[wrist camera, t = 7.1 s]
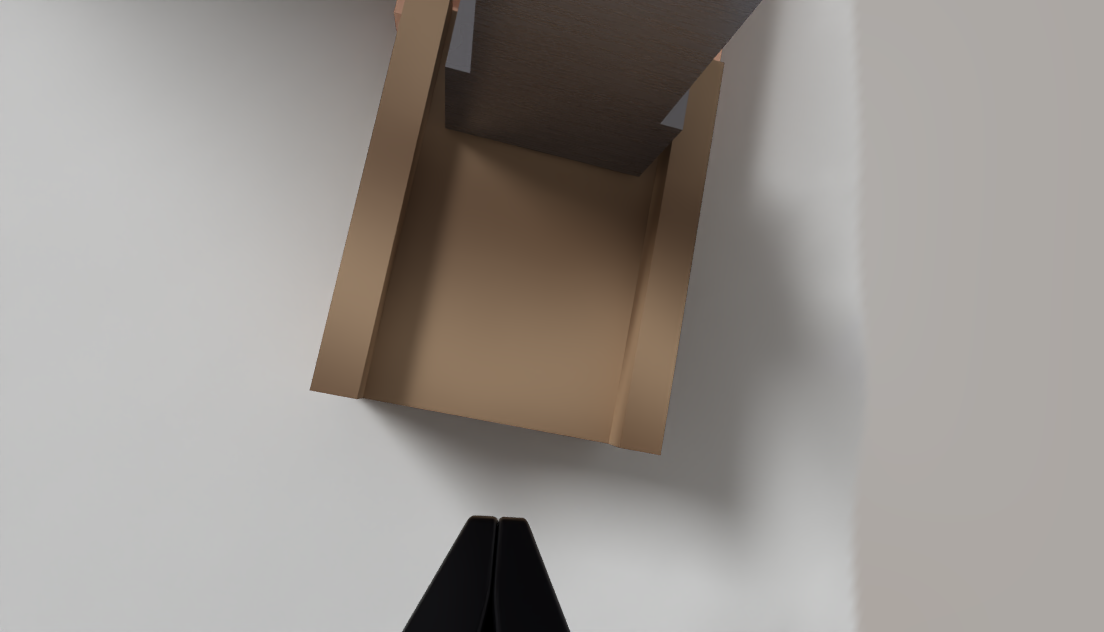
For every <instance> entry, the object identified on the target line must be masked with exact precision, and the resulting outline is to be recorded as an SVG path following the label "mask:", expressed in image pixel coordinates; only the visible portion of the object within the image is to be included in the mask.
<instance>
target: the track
mask: <svg viewBox="0 0 1104 632" xmlns="http://www.w3.org/2000/svg"><path fill="white" fill-rule="evenodd" d="M457 12H458V11H454V10H453V0H405V2H404V6H403V10H402V14H401V18H400V22H399V26H398V31H397V35H396V39H395V43H394V47H393V51H392V55H391V59H390V63H389V67H388V71H387V76H386V80H385V84H384V88H383V92H382V96H381V100H380V104H379V108H378V112H377V117H376V121H375V125H374V129H373V133H372V137H371V141H370V145H369V149H368V153H367V158H366V162H365V166H364V170H363V174H362V178H361V182H360V186H359V190H358V194H357V199H356V203H355V207H354V211H353V215H352V219H351V223H350V227H349V231H348V235H347V240H346V244H345V248H344V252H343V256H342V260H341V264H340V268H339V272H338V276H337V281H336V285H335V289H334V293H333V297H332V301H331V305H330V309H329V313H328V317H327V321H326V326H325V330H324V334H323V338H322V342H321V346H320V350H319V354H318V358H317V362H316V367H315V371H314V375H313V379H312V383H311V387H310V390H311V391H316V392H322V393H327V394H333V395H338V396H343V397H349V398H354V399H360V398H366V399H371V400H376V401H382V402H387V403H393V404H398V405H403V406H409V407H414V408H419V409H425V410H430V411H436V412H441V413H446V414H452V415H457V416H462V417H468V418H473V419H479V420H484V421H489V422H495V423H500V424H506V425H511V426H516V427H522V428H527V429H532V430H538V431H543V432H549V433H554V434H559V435H565V436H570V437H576V438H581V439H586V440H592V441H597V442H602V443H608V444H611V445H614V446H616V447H619V448H624V449H629V450H635V451H640V452H646V453H651V454H656V455H661V449H662V443H663V437H664V431H665V425H666V419H667V412H668V406H669V400H670V394H671V388H672V382H673V376H674V369H675V363H676V357H677V351H678V345H679V339H680V332H681V326H682V320H683V314H684V308H685V302H686V296H687V289H688V283H689V277H690V271H691V265H692V259H693V252H694V246H695V240H696V234H697V228H698V222H699V216H700V209H701V203H702V197H703V191H704V185H705V179H706V172H707V166H708V160H709V154H710V148H711V142H712V136H713V129H714V123H715V117H716V111H717V105H718V99H719V92H720V86H721V80H722V74H723V68H724V63H723V62H720V61H716V60H712V61H711V63H710V64H709V65H708V66H707V68H706V69H705V70H704V71H703V72H702V74H701V75H700V76H699V77H698V78H697V80H696V81H695V82H694V83H693V85H692V86H691V87H690V90H689V95H688V101H687V107H686V113H685V119H684V125H683V130H682V131H681V132H680V133H679V134H678V135H677V136H676V138H675V139H674V140H673V141H672V142H671V143H670V144H669V145H668V146H667V147H666V148H665V149H664V150H663V151H662V153H661V154H660V155H659V156H658V157H657V158H656V159H655V160H654V161H653V162H652V163H651V164H650V165H649V166H648V168H647V169H646V170H645V171H644V172H643V173H642V174H641V175H640V176H639V177H638V176H634V175H630V174H626V173H622V172H618V171H614V170H610V169H606V168H602V167H598V166H594V165H590V164H586V163H582V162H578V161H574V160H570V159H566V158H562V157H558V156H554V155H550V154H546V153H542V152H538V151H534V150H531V149H527V148H523V147H519V146H515V145H511V144H507V143H503V142H499V141H495V140H491V139H487V138H483V137H479V136H475V135H471V134H467V133H463V132H459V131H455V130H451V129H447V128H445V64H446V60H447V56H448V51H449V47H450V42H451V38H452V34H453V29H454V25H455V21H456V16H457Z"/></svg>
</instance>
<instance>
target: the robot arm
mask: <svg viewBox="0 0 1104 632" xmlns="http://www.w3.org/2000/svg"><path fill="white" fill-rule="evenodd" d="M402 632H570V630H569V627H568V625H567V622H566V619H565V617H564V614H563V612H562V609H561V606H560V604H559V601H558V599H557V596H556V594H555V591H554V588H553V586H552V583H551V581H550V578H549V575H548V573H547V570H546V568H545V565H544V562H543V560H542V557H541V555H540V552H539V550H538V547H537V544H536V542H535V539H534V537H533V534H532V531H531V529H530V526H529V524H528V522H527V521H526V519H524V518H515V517H502V518H500V519H499V521H498V520H497V518H496V517H493V516H476V515H475V516H471V517H470V518H469V519H468V520H467V522H466V524H465V525H464V527H463V529H462V530H461V532H460V534H459V535H458V537H457V539H456V541H455V542H454V544H453V546H452V547H451V549H450V551H449V553H448V554H447V556H446V558H445V559H444V561H443V563H442V565H441V566H440V568H439V570H438V571H437V573H436V575H435V576H434V578H433V580H432V582H431V583H430V585H429V587H428V588H427V590H426V592H425V594H424V595H423V597H422V599H421V600H420V602H419V604H418V606H417V607H416V609H415V611H414V612H413V614H412V616H411V617H410V619H409V621H408V623H407V624H406V626H405V628H404V629H403V631H402Z"/></svg>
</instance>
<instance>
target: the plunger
mask: <svg viewBox="0 0 1104 632" xmlns="http://www.w3.org/2000/svg"><path fill="white" fill-rule="evenodd" d="M761 1H762V0H460V3H459V8H458V12H457V16H456V21H455V25H454V29H453V34H452V38H451V42H450V47H449V51H448V56H447V60H446V64H445V128H447V129H451V130H455V131H459V132H463V133H467V134H471V135H475V136H479V137H483V138H487V139H491V140H495V141H499V142H503V143H507V144H511V145H515V146H519V147H523V148H527V149H531V150H534V151H538V152H542V153H546V154H550V155H554V156H558V157H562V158H566V159H570V160H574V161H578V162H582V163H586V164H590V165H594V166H598V167H602V168H606V169H610V170H614V171H618V172H622V173H626V174H630V175H634V176H638V177H639V176H640V175H641V174H642V173H643V172H644V171H645V170H646V169H647V168H648V166H649V165H650V164H651V163H652V162H653V161H654V160H655V159H656V158H657V157H658V156H659V155H660V154H661V153H662V151H663V150H664V149H665V148H666V147H667V146H668V145H669V144H670V143H671V142H672V141H673V140H674V139H675V138H676V136H677V135H678V134H679V133H680V132H681V131H682V130H683V125H684V119H685V113H686V107H687V101H688V95H689V90H690V87H691V86H692V85H693V83H694V82H695V81H696V80H697V78H698V77H699V76H700V75H701V74H702V72H703V71H704V70H705V69H706V68H707V66H708V65H709V64H710V63H711V61H712V60H713V59H714V58H715V57H716V55H717V54H718V53H719V52H720V51H721V49H722V48H723V47H724V46H725V44H726V43H727V42H728V41H729V40H730V38H731V37H732V36H733V35H734V34H735V32H736V31H737V30H738V29H739V28H740V26H741V25H742V24H743V23H744V21H745V20H746V19H747V18H748V17H749V15H750V14H751V13H752V12H753V11H754V9H755V8H756V7H757V6H758V4H759V3H760V2H761Z"/></svg>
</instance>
